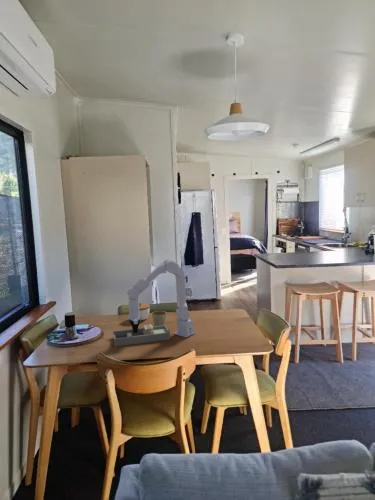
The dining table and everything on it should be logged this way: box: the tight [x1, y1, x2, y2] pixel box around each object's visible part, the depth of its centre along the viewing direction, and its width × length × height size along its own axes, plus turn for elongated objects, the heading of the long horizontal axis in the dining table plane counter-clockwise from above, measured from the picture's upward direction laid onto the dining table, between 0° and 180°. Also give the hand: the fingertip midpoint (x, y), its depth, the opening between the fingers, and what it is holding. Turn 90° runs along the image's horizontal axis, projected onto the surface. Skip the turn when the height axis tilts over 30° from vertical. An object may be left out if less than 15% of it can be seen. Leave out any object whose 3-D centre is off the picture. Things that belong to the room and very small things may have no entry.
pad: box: [154, 328, 166, 334], centre depth 201 cm, size 7×11×2 cm, turn 13°
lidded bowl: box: [139, 302, 151, 322], centre depth 232 cm, size 13×13×11 cm
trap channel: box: [112, 324, 171, 347], centre depth 198 cm, size 30×13×4 cm, turn 103°
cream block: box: [143, 324, 154, 335], centre depth 199 cm, size 4×8×4 cm, turn 13°
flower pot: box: [150, 310, 167, 326], centre depth 216 cm, size 9×9×9 cm
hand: (135, 332), depth 197 cm, fingers closed
